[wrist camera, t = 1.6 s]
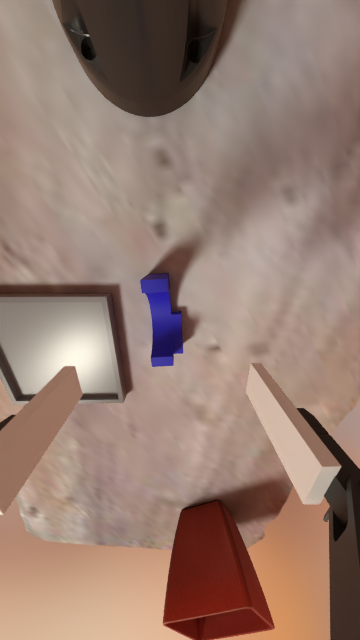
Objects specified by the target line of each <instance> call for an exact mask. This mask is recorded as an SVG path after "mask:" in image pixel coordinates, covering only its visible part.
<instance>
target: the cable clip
mask: <svg viewBox="0 0 360 640" xmlns="http://www.w3.org/2000/svg"><path fill="white" fill-rule="evenodd" d="M140 282H141V289H142V293H146V295H147V297H148V300H149V304H150V309H151V315H152V326H153V345H152V354H151V362H152V367H156V366H173V359H174V354H177V353H183V341H182V323H181V311H179V312H171V299H170V286H169V273H163V274H148V275H147V276H145V277H144V278H143V279H141V280H140Z"/></svg>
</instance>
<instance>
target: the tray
mask: <svg viewBox="0 0 360 640" xmlns="http://www.w3.org/2000/svg"><path fill="white" fill-rule="evenodd" d="M64 366H75V368H76V372H77V375H78V379H79V383H80V386H81V390H82V394H83V395H82V397H81V398H80V400H79V401H78V403H124V400H125V397H126V395H127V394H126V387H125V380H124V374H123V367H122V361H121V354H120V348H119V341H118V334H117V328H116V321H115V315H114V308H113V302H112V295H111V294H0V379H1V381H2V383H3V385H4V387H5V389H6V391H7V393H8V395H9V397H10V399H11V401H12V403H13V405H17V404H27V403H28V402H29V401H30V400H31V399H32V398H33V397H34V396H35V395H36V394H37V393H38V392H39V391H40V390H41V389H42V388H43V387H44V386H45V385H46V384H47V383H48V382H49V381H50V380H51V379H52V378H53V377H54V376H55V375H56V374H57V373H58V372H59V371H60V370H61V369H62V368H63V367H64Z"/></svg>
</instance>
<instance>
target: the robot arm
mask: <svg viewBox="0 0 360 640" xmlns="http://www.w3.org/2000/svg"><path fill="white" fill-rule="evenodd" d="M52 1H53V4H54V7H55V10H56V12H57V15H58V18H59V20H60V23H61V25H62V27H63V30H64V32H65V34H66V36H67V38H68V40H69V42H70V44H71V46H72V48H73V50H74V52H75V54H76V56H77V58H78V60H79V62H80V64H81V66H82V67H83V69H84V71H85V73H86V74H87V76H88V77H89V79H90V80H91V81H92V83H93V84H94V85H95V86H96V88H97V89H98V90H99V91H100V92H101V93H102V94H103V95H104V96H105V97H106V98H107V99H108V100H109V101H110V102H112V103H113V104H114V105H116V106H117V107H119V108H121V109H122V110H124V111H126V112H129V113H131V114H134V115H138V116H145V117H155V116H161V115H165V114H167V113H170V112H172V111H174V110H176V109H178V108H179V107H181V106H182V105H183V104H185V103H186V102H187V101H188V100H189V99H190V98H191V97H192V96H193V95H194V94H195V93H196V91H197V90H198V89H199V87H200V86H201V84H202V83H203V81H204V80H205V78H206V76H207V74H208V72H209V70H210V68H211V66H212V63H213V61H214V58H215V55H216V52H217V49H218V46H219V42H220V37H221V33H222V28H223V23H224V18H225V13H226V8H227V3H228V0H52ZM246 393H247V395H248V397H249V399H250V401H251V403H252V405H253V407H254V409H255V411H256V413H257V415H258V417H259V419H260V421H261V423H262V425H263V426H264V428H265V430H266V432H267V434H268V436H269V438H270V440H271V442H272V444H273V446H274V448H275V450H276V452H277V454H278V456H279V458H280V460H281V462H282V464H283V466H284V468H285V470H286V472H287V474H288V476H289V477H290V479H291V481H292V483H293V485H294V487H295V489H296V491H297V493H298V495H299V497H300V499H301V501H302V503H303V504H320V503H321V501H322V500H323V498H324V497H325V498H326V500H327V502H328V503H329V505H330V507H329V509H328V511H327V512H326V514H325V516H324V521H325V522H327V521H328V520H329V554H330V555H329V559H330V630H331V631H330V634H331V640H360V469H359V468H358V467H357V466H356V465H355V464H354V462H353V461H352V460H351V459H350V458H349V457H348V455H347V454H346V453H345V452H344V451H343V450H342V449H341V447H340V446H339V445H338V444H337V443H336V441H335V440H334V439H333V438H332V437H331V435H329V434H328V432H327V431H326V430H325V428H324V427H322V425H321V424H320V423H319V421H318V420H317V419H316V418H315V417H314V416H313V415H312V414H311V413H309V412H308V411H307V410H305V409H304V408H296V407H295V406H294V405H293V404H292V402H291V401H290V400H289V398H288V397H287V396H286V395H285V393H284V392H283V391H282V390H281V388H280V387H279V386H278V384H277V383H276V382H275V381H274V379H273V378H272V377H271V375H270V374H269V373H268V372H267V370H266V369H265V368H264V367H263V365H262V364H261V363H251V366H250V372H249V377H248V383H247V388H246ZM82 395H83V394H82V390H81V386H80V383H79V379H78V375H77V372H76V368H75V366H64V367H63V368H62V369H61V370H60V371H59V372H58V373H57V374H56V375H55V376H54V377H53V378H52V379H51V380H50V381H49V382H48V383H47V384H46V385H45V386H44V387H43V388H42V389H41V390H40V391H39V392H38V393H37V394H36V395H35V396H34V397H33V398H32V399H31V400H30V401H29V402H28V403H27V404H26V405H25V406H24V407H23V409H22V410H21V411H20V412H19V413H18V414H17V415H11V416H9V417H8V418H6V419H5V420H4V421H2V422H1V423H0V515H4V513H5V512H6V511H7V509H8V507H9V506H10V504H11V503H12V501H13V500H14V498H15V497H16V495H17V494H18V492H19V491H20V489H21V488H22V486H23V485H24V483H25V482H26V480H27V479H28V477H29V476H30V474H31V473H32V471H33V470H34V468H35V467H36V465H37V464H38V462H39V460H40V459H41V457H42V456H43V454H44V453H45V451H46V450H47V448H48V447H49V445H50V444H51V442H52V441H53V439H54V438H55V436H56V435H57V433H58V432H59V430H60V429H61V427H62V426H63V424H64V423H65V421H66V420H67V418H68V416H69V415H70V413H71V412H72V410H73V409H74V407H75V406H76V404H77V403H78V401H79V400H80V398H81V397H82Z"/></svg>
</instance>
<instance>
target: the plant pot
mask: <svg viewBox="0 0 360 640" xmlns="http://www.w3.org/2000/svg"><path fill="white" fill-rule="evenodd" d="M163 625H164V626H166V627H168V628H170V629H172V630H174V631H176V632H178V633H180V634H182V635H184V636H186V637H188V638H190V639H192V640H214V639H220V638H226V637H232V636H238V635H244V634H250V633H255V632H261V631H267V630H272V629H274V628H275V627H274V623H273V620H272V617H271V614H270V611H269V608H268V605H267V602H266V599H265V596H264V593H263V591H262V588H261V585H260V582H259V580H258V577H257V574H256V572H255V570H254V567H253V564H252V561H251V559H250V556H249V554H248V551H247V549H246V546H245V544H244V542H243V539H242V537H241V535H240V532H239V530H238V528H237V525H236V523H235V521H234V519H233V517H232V516H231V514H230V513H229V512H228V510H227V509H226V508H225V506H224V505H223V503H222V502H221V501H214V502H210V503H207V504H203V505H200V506H196V507H193V508H189V509H186V510H182V511H181V513H180V517H179V521H178V525H177V529H176V534H175V539H174V544H173V549H172V555H171V561H170V568H169V574H168V582H167V591H166V598H165V607H164V617H163Z"/></svg>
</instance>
